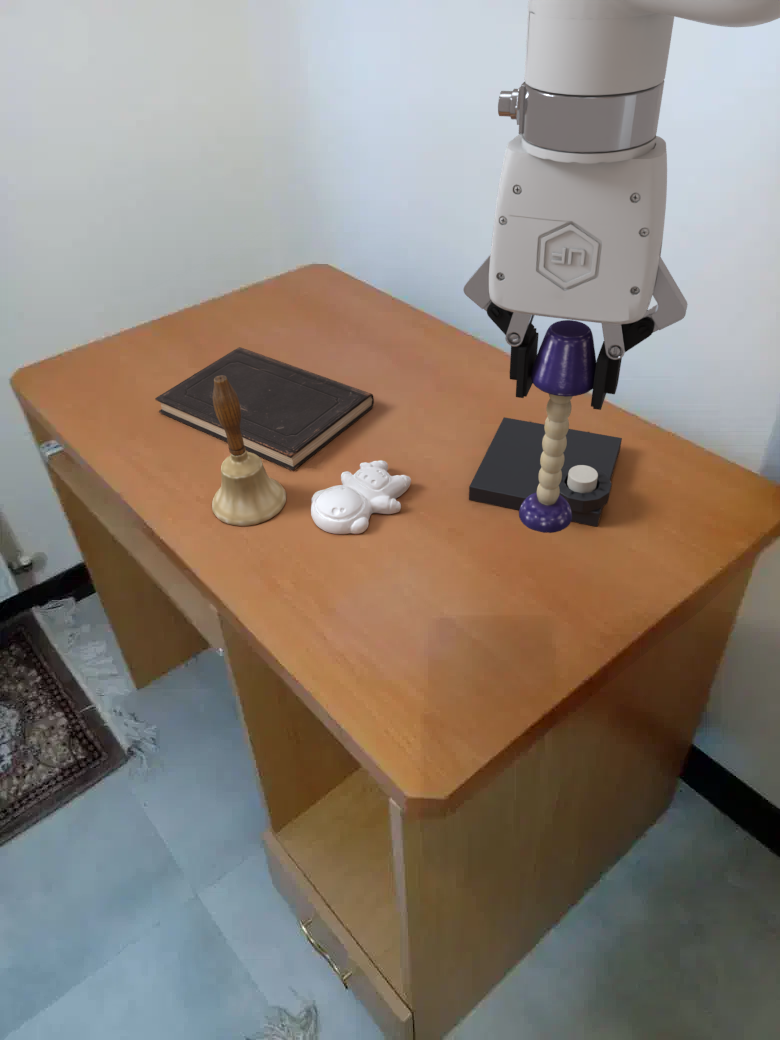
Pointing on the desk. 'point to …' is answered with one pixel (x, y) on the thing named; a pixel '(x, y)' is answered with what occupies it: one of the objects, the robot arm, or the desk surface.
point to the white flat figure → (358, 498)
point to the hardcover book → (270, 406)
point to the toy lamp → (558, 416)
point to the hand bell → (241, 470)
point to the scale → (517, 466)
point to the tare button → (582, 479)
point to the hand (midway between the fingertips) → (562, 391)
